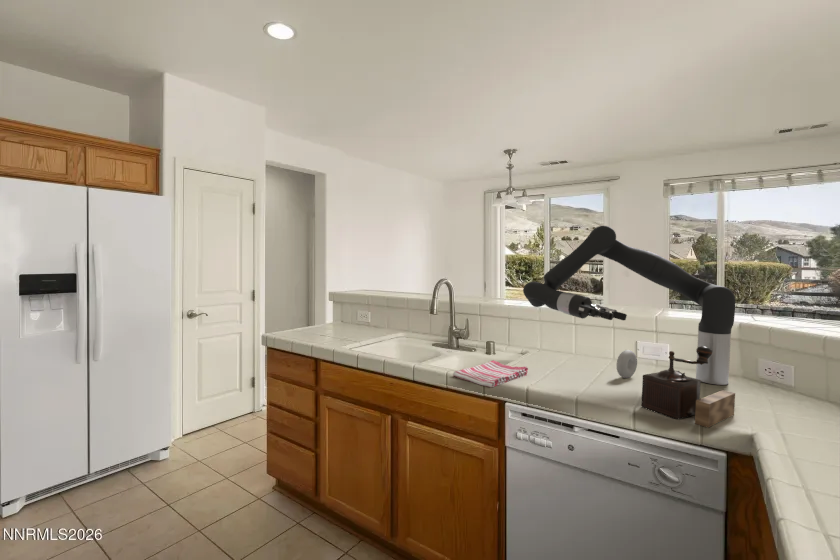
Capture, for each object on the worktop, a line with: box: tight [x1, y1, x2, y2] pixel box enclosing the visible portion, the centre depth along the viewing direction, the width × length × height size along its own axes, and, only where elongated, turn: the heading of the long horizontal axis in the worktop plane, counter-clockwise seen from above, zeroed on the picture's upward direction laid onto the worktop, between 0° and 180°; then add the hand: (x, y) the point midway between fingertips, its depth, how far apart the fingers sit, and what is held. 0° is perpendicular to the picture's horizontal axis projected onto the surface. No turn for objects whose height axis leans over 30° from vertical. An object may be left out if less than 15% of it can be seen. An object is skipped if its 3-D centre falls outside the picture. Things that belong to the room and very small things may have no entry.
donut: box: [616, 349, 638, 379], centre depth 145 cm, size 10×4×10 cm, turn 124°
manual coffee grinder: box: [640, 346, 713, 420], centre depth 115 cm, size 16×11×18 cm
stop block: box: [694, 389, 736, 428], centre depth 108 cm, size 16×3×6 cm, turn 124°
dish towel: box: [452, 359, 529, 388], centre depth 146 cm, size 17×23×4 cm
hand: (619, 317), depth 131 cm, fingers open, 8 cm apart
